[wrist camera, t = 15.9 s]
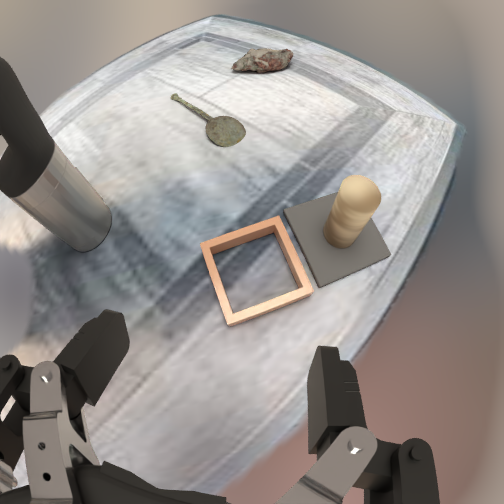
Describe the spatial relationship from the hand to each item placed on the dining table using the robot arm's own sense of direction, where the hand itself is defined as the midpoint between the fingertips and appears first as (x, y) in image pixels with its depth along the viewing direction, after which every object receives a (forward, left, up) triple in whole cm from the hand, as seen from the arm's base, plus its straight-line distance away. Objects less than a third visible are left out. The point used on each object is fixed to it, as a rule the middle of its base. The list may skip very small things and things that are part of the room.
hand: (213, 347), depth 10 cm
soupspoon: (-42, +7, -24) cm, 49 cm away
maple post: (-10, +18, -23) cm, 30 cm away
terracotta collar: (-9, +5, -23) cm, 26 cm away
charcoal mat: (-10, +18, -23) cm, 31 cm away
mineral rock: (-56, +25, -24) cm, 66 cm away
